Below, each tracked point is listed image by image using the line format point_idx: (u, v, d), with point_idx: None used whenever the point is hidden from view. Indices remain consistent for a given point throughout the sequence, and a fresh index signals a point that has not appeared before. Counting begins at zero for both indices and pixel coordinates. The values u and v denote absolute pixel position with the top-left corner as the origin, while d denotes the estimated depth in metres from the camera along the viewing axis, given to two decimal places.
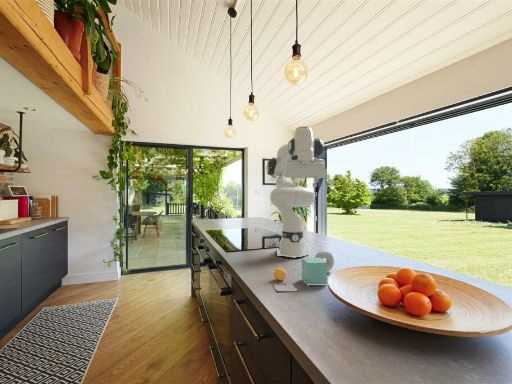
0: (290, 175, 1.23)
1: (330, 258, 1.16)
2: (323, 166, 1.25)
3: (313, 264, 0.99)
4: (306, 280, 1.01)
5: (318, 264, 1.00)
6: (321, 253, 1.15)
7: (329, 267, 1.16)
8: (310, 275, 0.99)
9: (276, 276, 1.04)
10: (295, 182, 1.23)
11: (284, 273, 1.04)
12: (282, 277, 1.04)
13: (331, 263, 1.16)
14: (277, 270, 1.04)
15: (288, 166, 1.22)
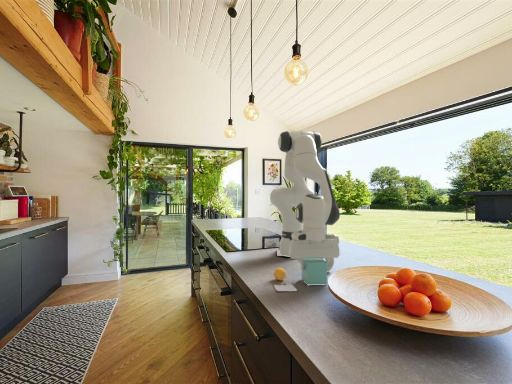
0: (296, 257, 1.01)
1: (330, 258, 1.16)
2: (337, 245, 1.03)
3: (313, 264, 0.99)
4: (306, 280, 1.01)
5: (318, 264, 1.00)
6: None
7: (329, 267, 1.16)
8: (310, 275, 0.99)
9: (276, 276, 1.04)
10: (302, 265, 1.02)
11: (284, 273, 1.04)
12: (282, 277, 1.04)
13: (331, 263, 1.16)
14: (277, 270, 1.04)
15: (294, 247, 1.00)
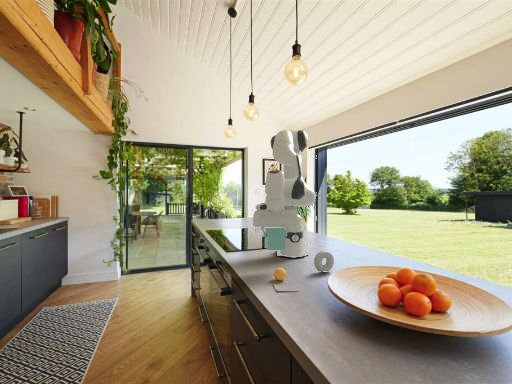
0: (258, 225, 1.14)
1: (330, 258, 1.16)
2: (295, 215, 1.16)
3: (273, 231, 1.12)
4: (267, 245, 1.13)
5: (277, 231, 1.13)
6: (321, 253, 1.15)
7: (329, 267, 1.16)
8: (270, 240, 1.12)
9: (276, 276, 1.04)
10: (264, 232, 1.15)
11: (284, 273, 1.04)
12: (282, 277, 1.04)
13: (331, 263, 1.16)
14: (277, 270, 1.04)
15: (256, 216, 1.13)
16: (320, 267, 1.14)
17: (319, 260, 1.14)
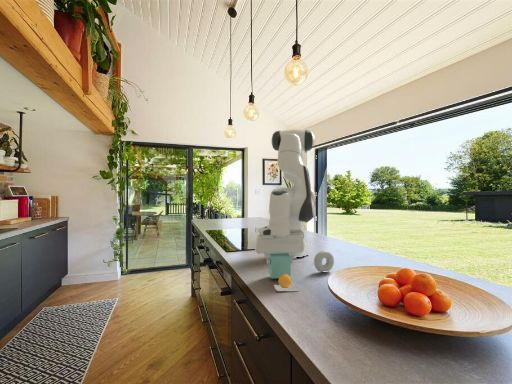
0: (261, 252, 1.04)
1: (330, 258, 1.16)
2: (301, 240, 1.06)
3: (277, 258, 1.03)
4: (271, 273, 1.05)
5: (282, 258, 1.03)
6: (321, 253, 1.15)
7: (329, 267, 1.16)
8: (274, 268, 1.03)
9: None
10: (268, 259, 1.05)
11: None
12: None
13: (331, 263, 1.16)
14: None
15: (259, 242, 1.03)
16: (320, 267, 1.14)
17: (319, 260, 1.14)
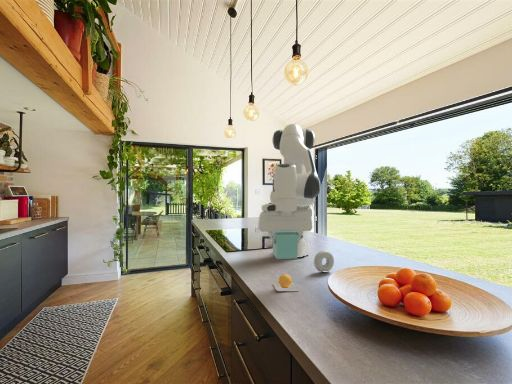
0: (265, 230, 0.94)
1: (330, 258, 1.16)
2: (309, 217, 0.96)
3: (283, 236, 0.93)
4: (275, 253, 0.95)
5: (288, 236, 0.94)
6: (321, 253, 1.15)
7: (329, 267, 1.16)
8: (280, 247, 0.93)
9: None
10: (272, 238, 0.96)
11: None
12: None
13: (331, 263, 1.16)
14: None
15: (263, 219, 0.94)
16: (320, 267, 1.14)
17: (319, 260, 1.14)
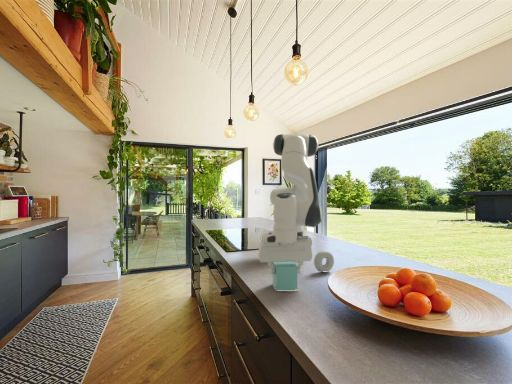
0: (265, 261, 0.94)
1: (330, 258, 1.16)
2: (309, 247, 0.96)
3: (282, 268, 0.94)
4: (275, 285, 0.95)
5: (288, 268, 0.94)
6: (321, 253, 1.15)
7: (329, 267, 1.16)
8: (279, 280, 0.94)
9: None
10: (272, 269, 0.95)
11: None
12: None
13: (331, 263, 1.16)
14: None
15: (263, 250, 0.94)
16: (320, 267, 1.14)
17: (319, 260, 1.14)
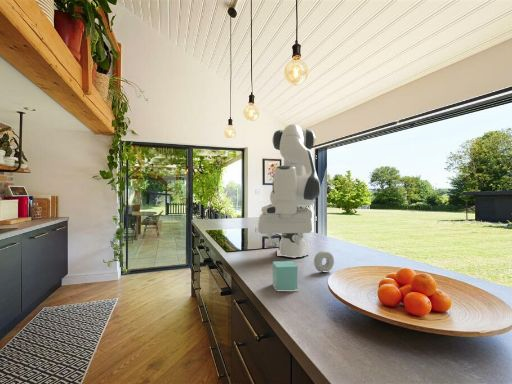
0: (265, 232, 0.95)
1: (330, 258, 1.16)
2: (309, 219, 0.96)
3: (282, 268, 0.94)
4: (275, 285, 0.95)
5: (288, 268, 0.94)
6: (321, 253, 1.15)
7: (329, 267, 1.16)
8: (279, 280, 0.94)
9: None
10: (272, 240, 0.96)
11: None
12: None
13: (331, 263, 1.16)
14: None
15: (263, 221, 0.94)
16: (320, 267, 1.14)
17: (319, 260, 1.14)
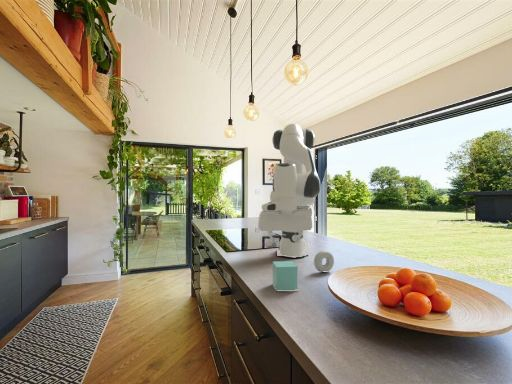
0: (265, 229, 0.94)
1: (330, 258, 1.16)
2: (309, 216, 0.96)
3: (282, 268, 0.94)
4: (275, 285, 0.95)
5: (288, 268, 0.94)
6: (321, 253, 1.15)
7: (329, 267, 1.16)
8: (279, 280, 0.94)
9: None
10: (272, 237, 0.96)
11: None
12: None
13: (331, 263, 1.16)
14: None
15: (263, 218, 0.94)
16: (320, 267, 1.14)
17: (319, 260, 1.14)
